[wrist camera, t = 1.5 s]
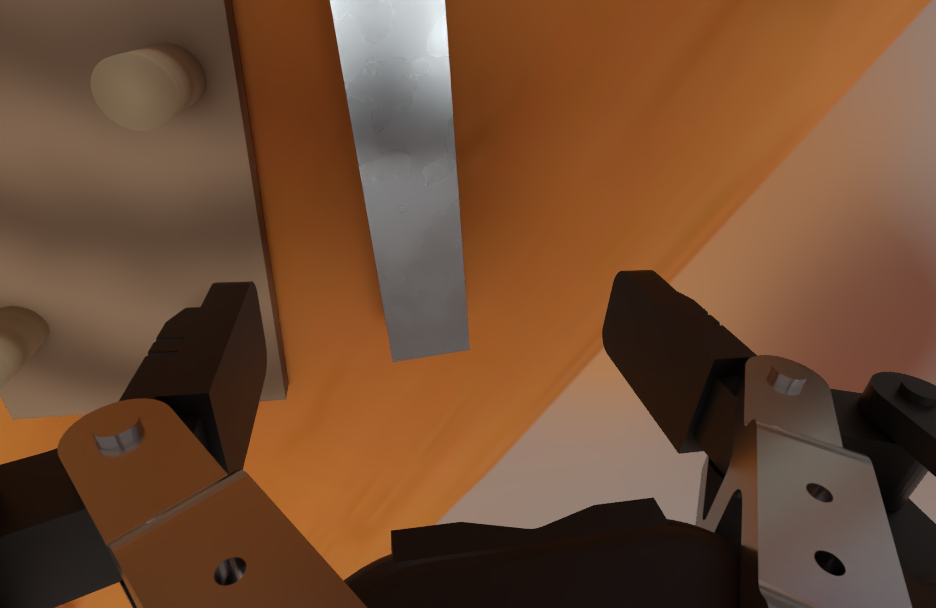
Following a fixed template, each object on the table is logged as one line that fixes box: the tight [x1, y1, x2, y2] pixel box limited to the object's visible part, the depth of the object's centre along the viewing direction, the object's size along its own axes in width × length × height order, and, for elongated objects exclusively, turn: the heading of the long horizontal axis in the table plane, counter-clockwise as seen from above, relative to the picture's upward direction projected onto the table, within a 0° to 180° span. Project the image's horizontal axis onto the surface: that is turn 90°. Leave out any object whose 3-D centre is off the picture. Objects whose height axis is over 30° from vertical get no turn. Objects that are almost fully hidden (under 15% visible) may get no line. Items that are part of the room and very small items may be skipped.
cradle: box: [0, 0, 288, 419], centre depth 18 cm, size 20×12×5 cm, turn 176°
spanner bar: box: [330, 0, 470, 362], centre depth 20 cm, size 16×4×4 cm, turn 3°
